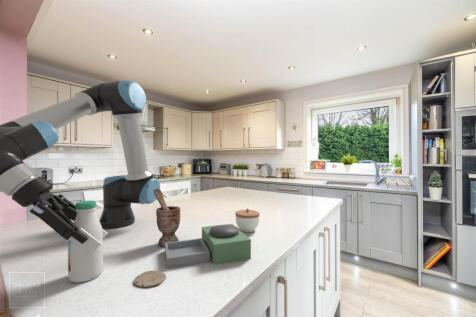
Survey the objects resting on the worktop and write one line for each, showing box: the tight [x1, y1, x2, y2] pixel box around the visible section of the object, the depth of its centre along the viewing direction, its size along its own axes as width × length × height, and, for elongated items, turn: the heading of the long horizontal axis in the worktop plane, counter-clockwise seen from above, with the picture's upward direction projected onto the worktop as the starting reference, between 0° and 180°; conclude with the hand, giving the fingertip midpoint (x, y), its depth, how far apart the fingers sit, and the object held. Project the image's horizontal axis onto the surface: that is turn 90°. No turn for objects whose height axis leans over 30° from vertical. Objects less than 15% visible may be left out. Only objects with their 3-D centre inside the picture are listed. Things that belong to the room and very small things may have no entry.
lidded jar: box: [234, 208, 261, 233], centre depth 99 cm, size 11×11×9 cm
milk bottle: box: [67, 200, 104, 283], centre depth 60 cm, size 8×8×20 cm
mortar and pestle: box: [154, 188, 181, 248], centre depth 84 cm, size 12×9×20 cm
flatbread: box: [133, 270, 167, 288], centre depth 59 cm, size 8×8×1 cm
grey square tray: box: [164, 237, 211, 269], centre depth 73 cm, size 13×13×3 cm
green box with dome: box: [201, 223, 252, 266], centre depth 77 cm, size 18×12×7 cm, turn 21°
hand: (100, 242), depth 61 cm, fingers closed on milk bottle, 7 cm apart
